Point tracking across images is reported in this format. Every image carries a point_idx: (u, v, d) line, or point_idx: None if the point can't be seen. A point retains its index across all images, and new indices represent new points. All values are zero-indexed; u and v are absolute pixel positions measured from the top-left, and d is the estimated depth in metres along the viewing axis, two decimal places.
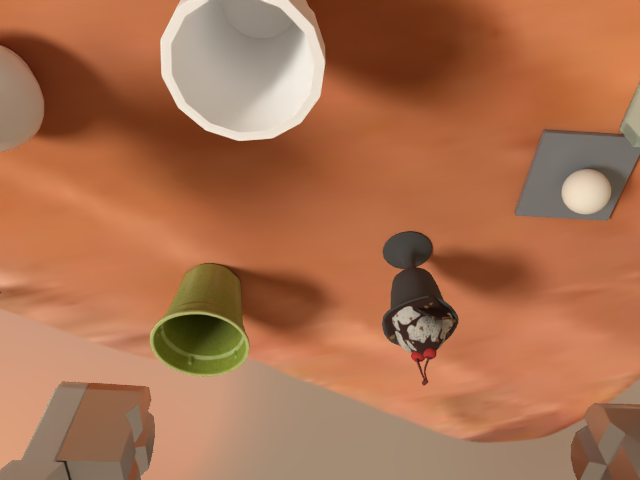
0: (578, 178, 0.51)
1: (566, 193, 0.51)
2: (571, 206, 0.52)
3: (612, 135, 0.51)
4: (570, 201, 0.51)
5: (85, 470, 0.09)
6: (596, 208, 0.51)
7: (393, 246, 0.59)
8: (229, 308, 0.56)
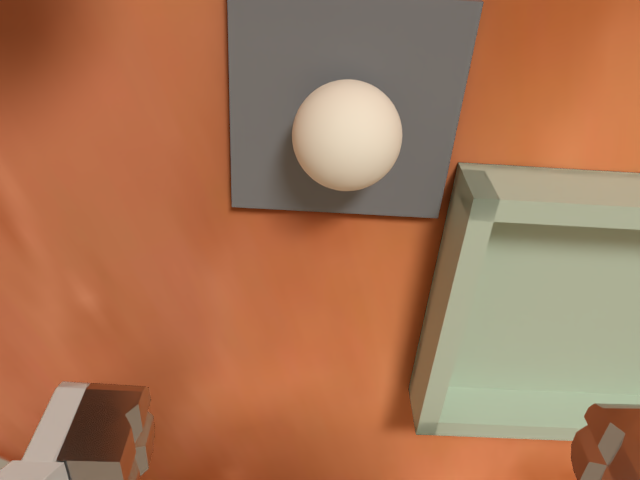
0: (393, 108, 0.20)
1: (354, 89, 0.20)
2: (325, 111, 0.20)
3: (449, 154, 0.24)
4: (342, 104, 0.20)
5: (85, 470, 0.09)
6: (336, 169, 0.20)
7: None
8: None
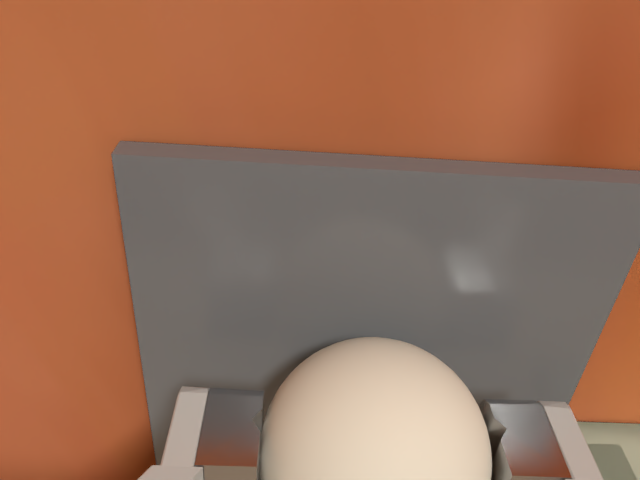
0: (477, 419, 0.09)
1: (396, 400, 0.09)
2: (328, 461, 0.09)
3: None
4: (370, 447, 0.08)
5: (220, 474, 0.09)
6: None
7: None
8: None
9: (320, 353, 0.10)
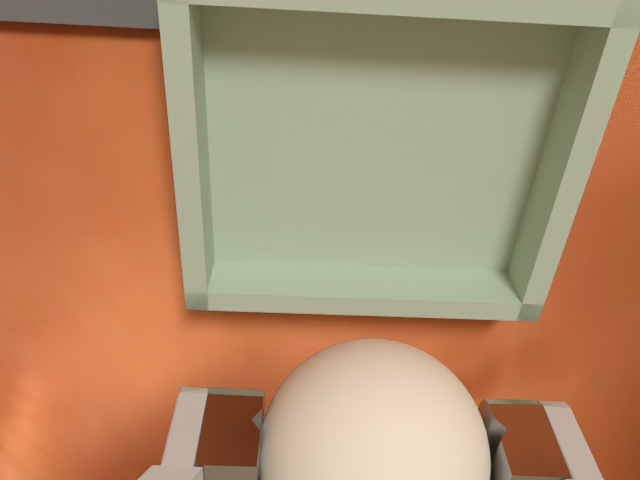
0: (476, 421, 0.09)
1: (393, 400, 0.09)
2: (328, 462, 0.09)
3: None
4: (369, 449, 0.08)
5: (221, 475, 0.09)
6: None
7: None
8: None
9: (319, 354, 0.10)
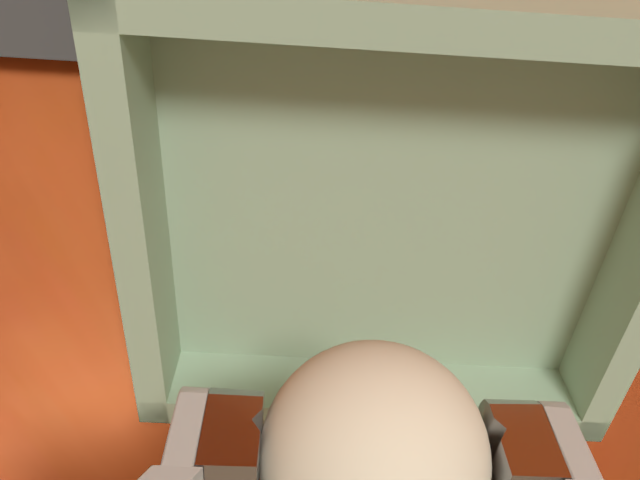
0: (478, 422, 0.09)
1: (395, 403, 0.09)
2: (328, 465, 0.09)
3: None
4: (370, 451, 0.08)
5: (220, 475, 0.09)
6: None
7: None
8: None
9: (320, 356, 0.10)
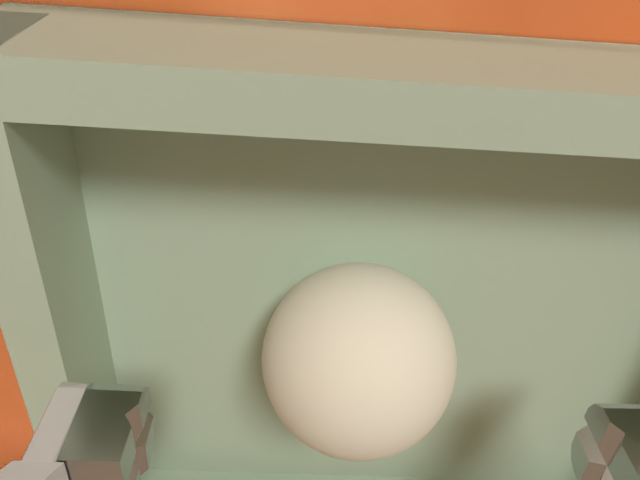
0: (443, 328, 0.11)
1: (372, 302, 0.11)
2: (314, 347, 0.10)
3: None
4: (348, 337, 0.10)
5: (85, 470, 0.09)
6: (333, 447, 0.11)
7: None
8: None
9: (316, 272, 0.12)
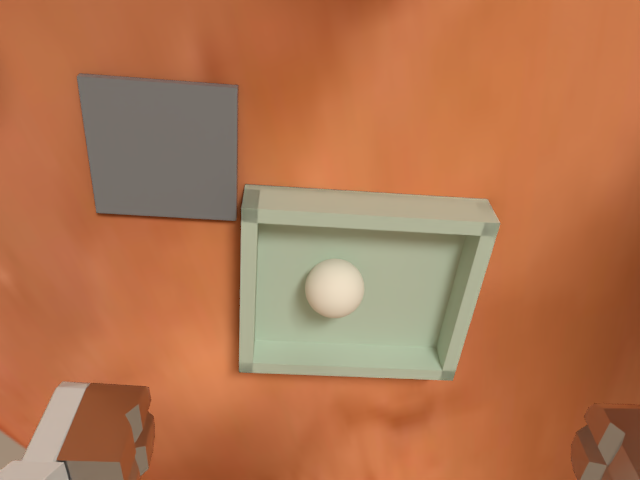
0: (357, 282, 0.38)
1: (336, 269, 0.38)
2: (317, 278, 0.38)
3: (236, 179, 0.37)
4: (326, 277, 0.38)
5: (85, 470, 0.09)
6: (318, 308, 0.38)
7: None
8: None
9: None
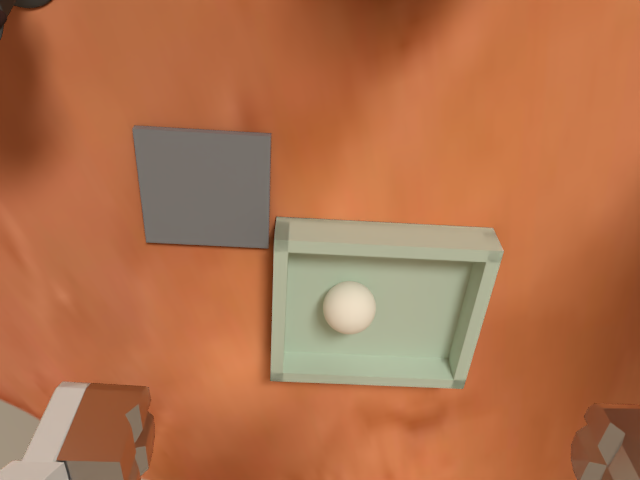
0: (366, 305, 0.43)
1: (348, 291, 0.43)
2: (331, 297, 0.43)
3: (269, 212, 0.42)
4: (338, 297, 0.43)
5: (85, 470, 0.09)
6: (330, 322, 0.43)
7: None
8: None
9: (346, 281, 0.44)
